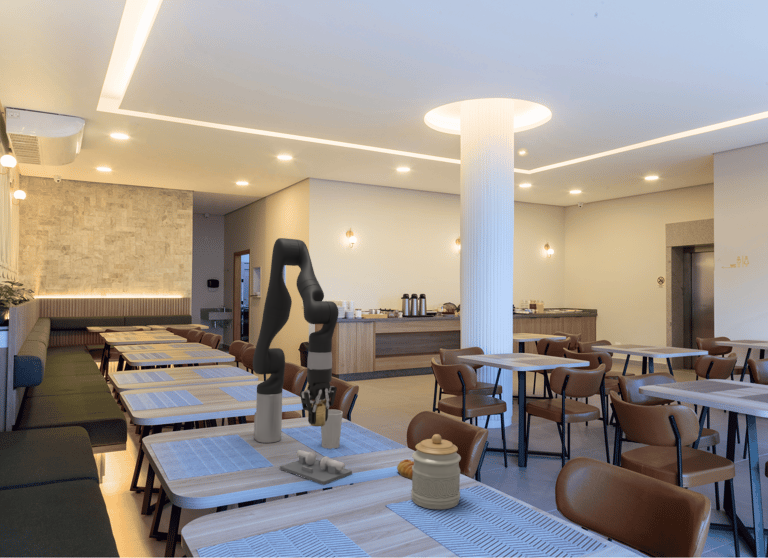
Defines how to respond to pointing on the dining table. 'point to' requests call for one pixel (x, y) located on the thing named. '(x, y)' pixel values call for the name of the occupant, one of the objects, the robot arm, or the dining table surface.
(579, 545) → the dining table surface
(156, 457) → the dining table surface
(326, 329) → the robot arm
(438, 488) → the jar
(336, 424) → the cup
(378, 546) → the dining table surface
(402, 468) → the pastry
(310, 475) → the shaft rig
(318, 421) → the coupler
